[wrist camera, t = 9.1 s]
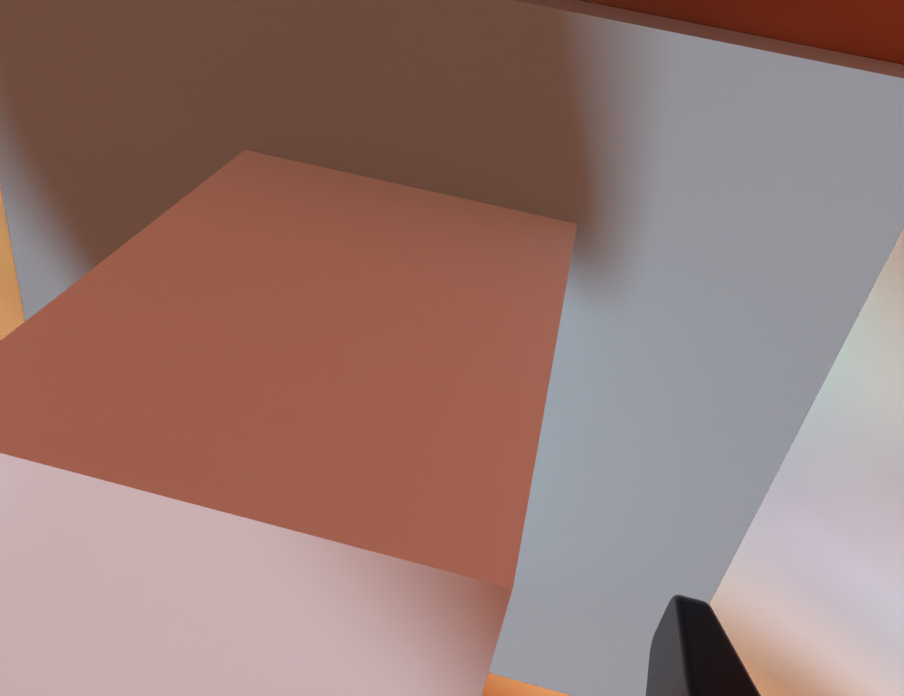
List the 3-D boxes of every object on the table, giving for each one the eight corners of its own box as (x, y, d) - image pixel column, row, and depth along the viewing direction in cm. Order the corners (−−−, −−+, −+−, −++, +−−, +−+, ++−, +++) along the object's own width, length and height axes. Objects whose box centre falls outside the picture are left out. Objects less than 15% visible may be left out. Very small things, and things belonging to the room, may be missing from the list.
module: (576, 223, 10) (512, 589, 5) (484, 580, 14) (398, 981, 9) (244, 149, 11) (-107, 425, 6) (244, 517, 15) (37, 868, 10)
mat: (949, 74, 9) (972, 92, 9) (650, 680, 16) (650, 717, 15) (-10, -118, 10) (-55, -115, 10) (91, 528, 17) (68, 556, 16)
